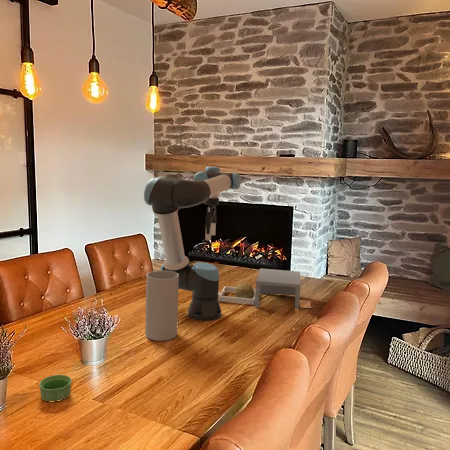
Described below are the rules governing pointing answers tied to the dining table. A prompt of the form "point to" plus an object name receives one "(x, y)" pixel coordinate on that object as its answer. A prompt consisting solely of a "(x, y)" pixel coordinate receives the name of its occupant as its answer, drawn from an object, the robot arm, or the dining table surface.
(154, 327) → the cylinder vase
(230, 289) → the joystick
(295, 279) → the tunnel
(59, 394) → the ramekin
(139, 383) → the dining table surface
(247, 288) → the rock
